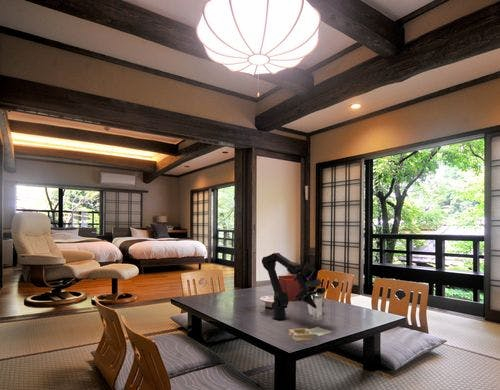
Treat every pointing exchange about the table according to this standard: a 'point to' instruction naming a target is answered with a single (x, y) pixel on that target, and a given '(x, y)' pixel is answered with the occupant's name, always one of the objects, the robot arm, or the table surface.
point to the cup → (310, 308)
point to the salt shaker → (317, 306)
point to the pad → (319, 331)
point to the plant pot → (290, 286)
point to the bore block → (301, 334)
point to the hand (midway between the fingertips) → (319, 307)
